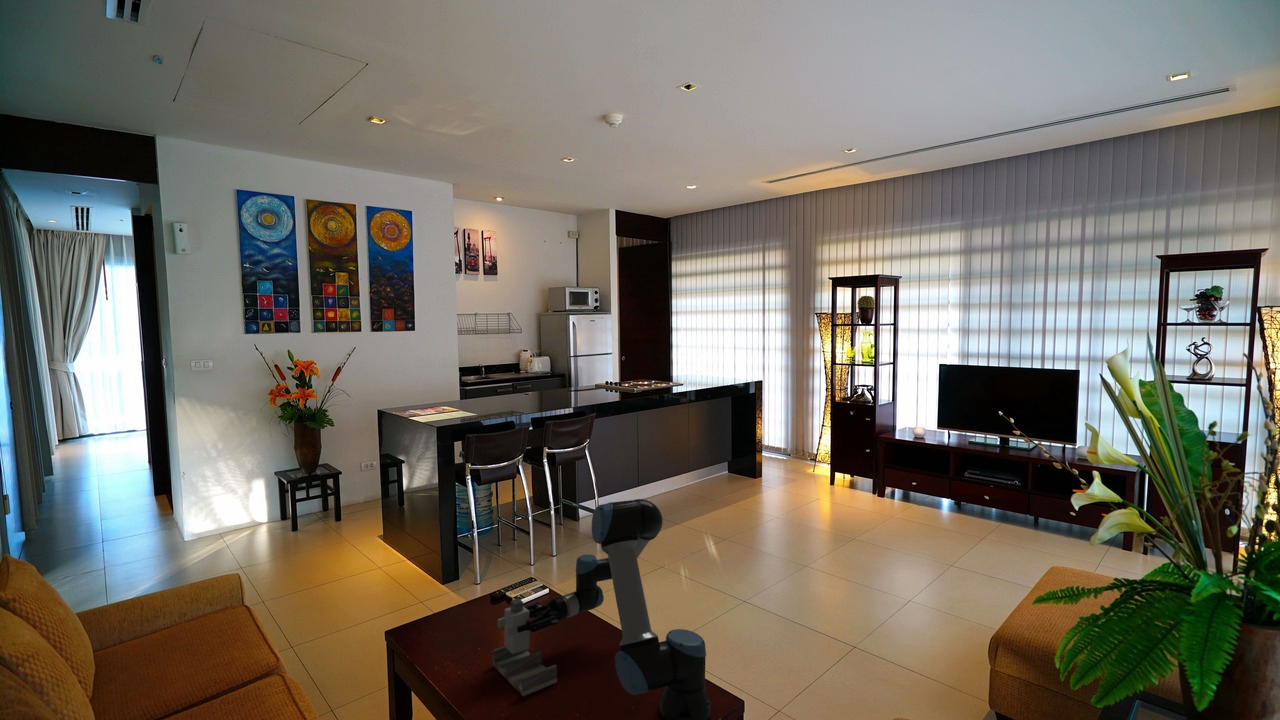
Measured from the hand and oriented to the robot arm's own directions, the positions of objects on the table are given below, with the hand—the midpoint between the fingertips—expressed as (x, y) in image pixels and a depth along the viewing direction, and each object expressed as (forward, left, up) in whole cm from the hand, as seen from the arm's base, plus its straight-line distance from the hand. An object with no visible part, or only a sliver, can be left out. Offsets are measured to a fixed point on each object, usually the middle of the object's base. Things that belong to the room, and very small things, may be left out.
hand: (502, 627), depth 199 cm
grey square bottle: (0, -5, -8) cm, 10 cm away
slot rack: (-5, -5, -15) cm, 17 cm away
